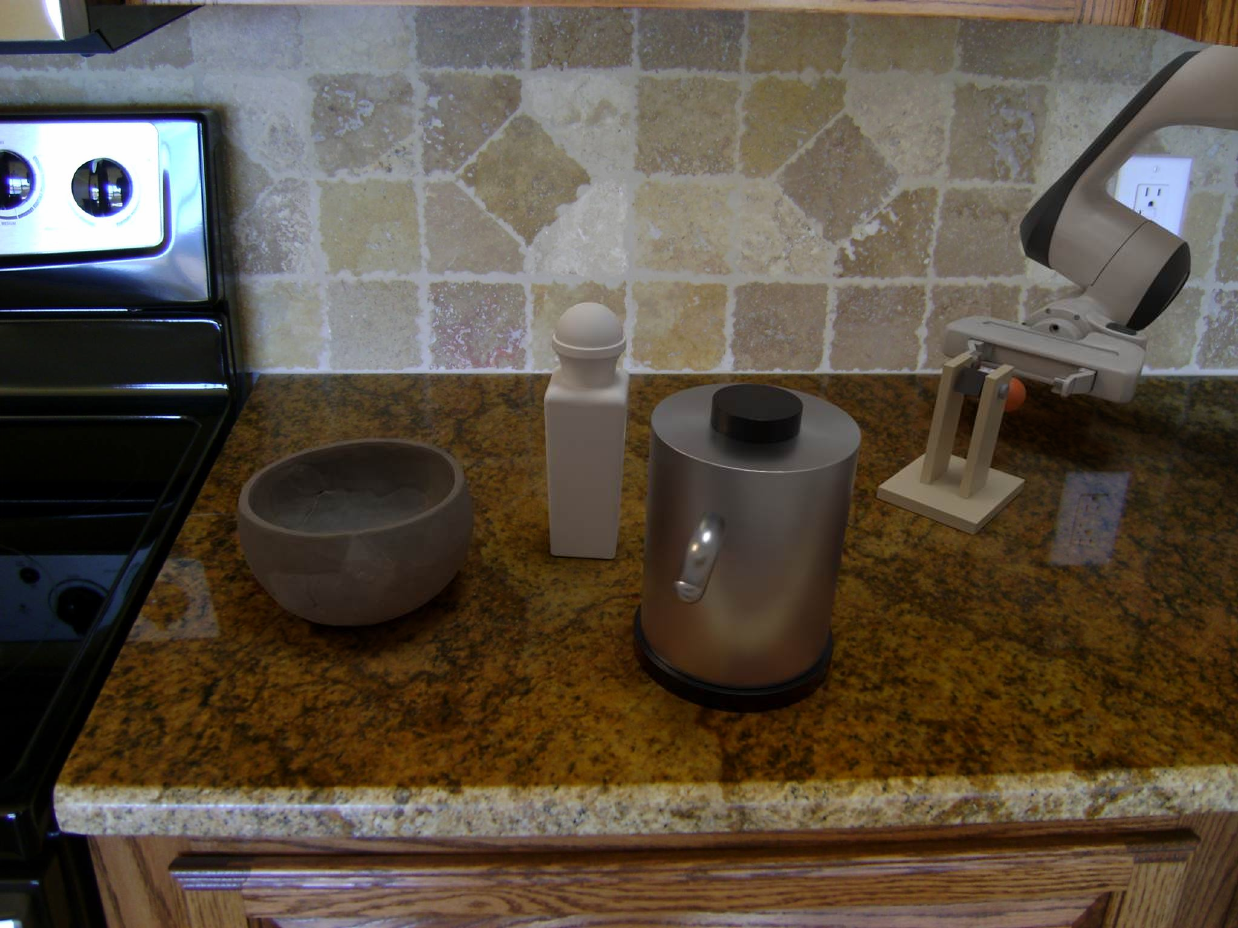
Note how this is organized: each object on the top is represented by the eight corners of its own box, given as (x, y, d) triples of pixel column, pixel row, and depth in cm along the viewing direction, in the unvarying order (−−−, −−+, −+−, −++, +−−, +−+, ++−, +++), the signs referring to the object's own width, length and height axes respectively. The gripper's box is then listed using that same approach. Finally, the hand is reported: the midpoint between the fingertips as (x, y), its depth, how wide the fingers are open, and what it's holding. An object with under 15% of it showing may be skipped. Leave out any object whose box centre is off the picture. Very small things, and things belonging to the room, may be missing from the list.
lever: (988, 407, 99) (1000, 374, 99) (1022, 417, 97) (1035, 384, 96) (945, 394, 88) (958, 358, 87) (982, 406, 86) (996, 368, 85)
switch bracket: (929, 458, 100) (955, 336, 94) (1022, 490, 94) (1056, 363, 88) (876, 497, 92) (900, 367, 86) (973, 535, 86) (1007, 399, 80)
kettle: (779, 776, 59) (821, 501, 50) (574, 698, 65) (577, 439, 56) (862, 600, 77) (904, 371, 67) (693, 551, 82) (711, 334, 73)
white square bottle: (619, 563, 80) (628, 319, 70) (544, 559, 81) (542, 315, 70) (624, 524, 86) (633, 293, 76) (553, 520, 86) (553, 289, 76)
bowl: (290, 529, 84) (274, 428, 79) (488, 533, 84) (484, 433, 79) (218, 654, 68) (193, 538, 64) (462, 658, 69) (455, 543, 64)
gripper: (975, 295, 109) (923, 321, 100) (1164, 338, 98) (1125, 373, 88) (964, 346, 112) (913, 376, 103) (1147, 394, 101) (1107, 433, 91)
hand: (1012, 375), depth 96 cm, fingers open, 8 cm apart
